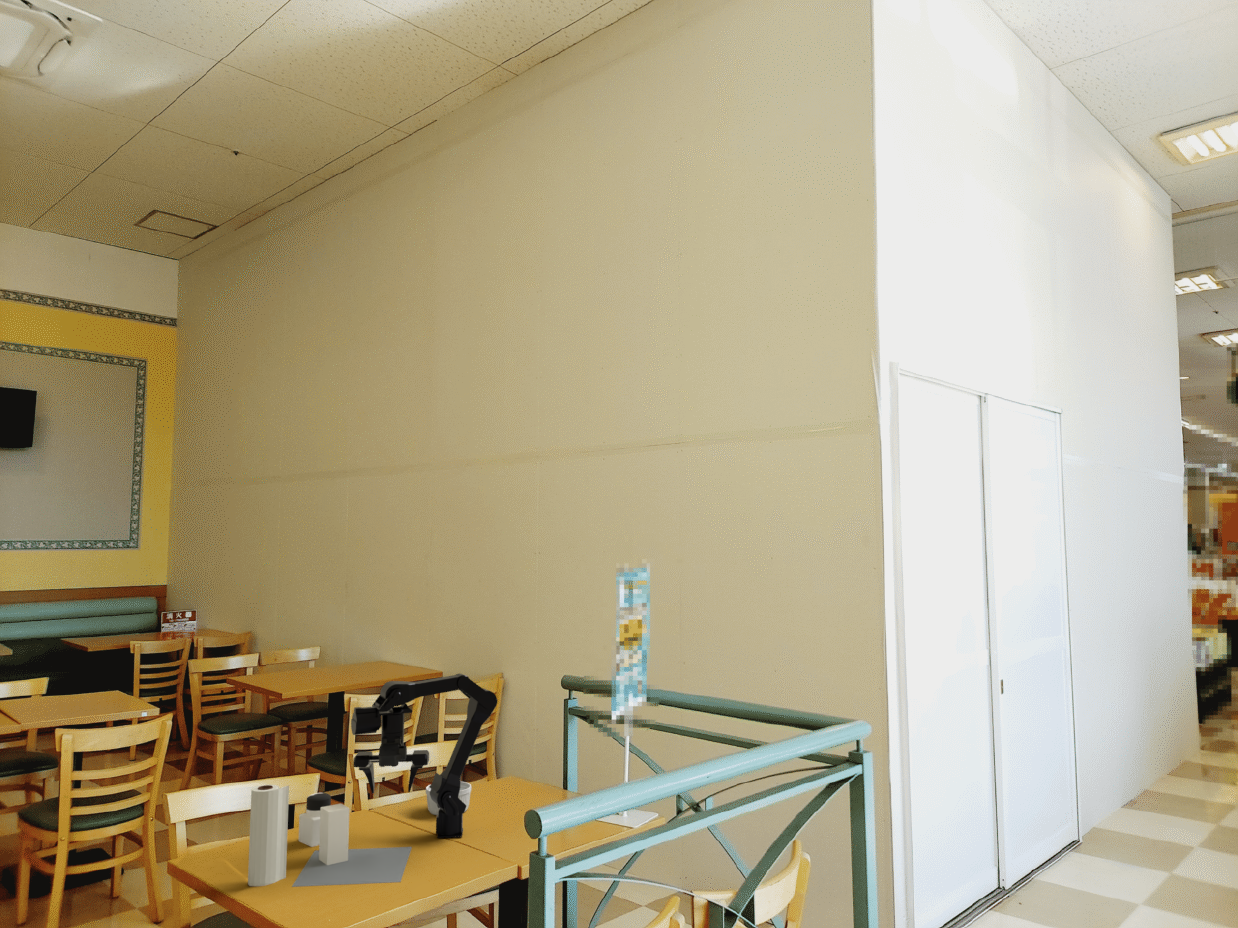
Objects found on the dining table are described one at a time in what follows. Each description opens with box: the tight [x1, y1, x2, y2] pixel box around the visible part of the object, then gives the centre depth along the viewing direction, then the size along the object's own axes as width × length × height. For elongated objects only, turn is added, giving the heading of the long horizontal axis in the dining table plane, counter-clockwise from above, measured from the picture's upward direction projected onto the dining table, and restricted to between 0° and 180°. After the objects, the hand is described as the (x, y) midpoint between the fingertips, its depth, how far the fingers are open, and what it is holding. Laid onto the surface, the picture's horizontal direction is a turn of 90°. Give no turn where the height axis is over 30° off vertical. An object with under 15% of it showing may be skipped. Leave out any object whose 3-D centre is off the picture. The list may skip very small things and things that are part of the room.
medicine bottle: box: [298, 792, 332, 848], centre depth 232 cm, size 7×7×12 cm
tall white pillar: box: [318, 803, 350, 865], centre depth 218 cm, size 5×5×12 cm
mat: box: [291, 846, 413, 888], centre depth 213 cm, size 24×24×1 cm
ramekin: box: [425, 781, 472, 816], centre depth 260 cm, size 13×13×7 cm
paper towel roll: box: [247, 784, 290, 887], centre depth 204 cm, size 7×6×21 cm
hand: (391, 792), depth 231 cm, fingers open, 9 cm apart
